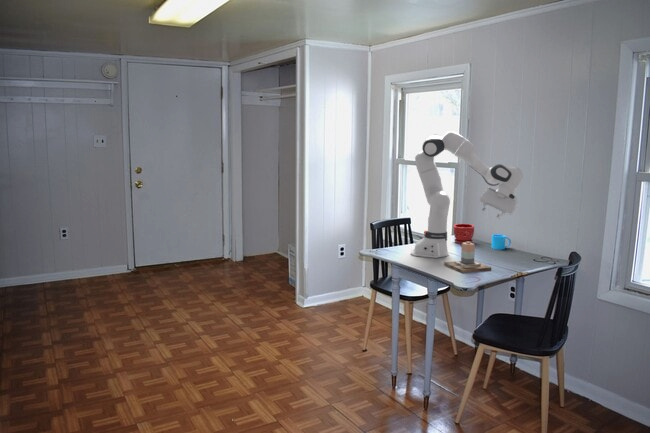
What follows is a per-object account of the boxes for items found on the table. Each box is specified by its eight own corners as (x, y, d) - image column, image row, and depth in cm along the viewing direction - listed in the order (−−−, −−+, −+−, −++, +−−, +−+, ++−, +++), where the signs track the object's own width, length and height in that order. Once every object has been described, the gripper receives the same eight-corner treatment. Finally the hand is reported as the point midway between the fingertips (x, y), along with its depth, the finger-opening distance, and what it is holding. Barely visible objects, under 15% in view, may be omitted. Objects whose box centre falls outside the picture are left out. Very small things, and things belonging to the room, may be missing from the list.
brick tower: (460, 264, 286) (461, 241, 284) (468, 263, 288) (469, 240, 286) (466, 266, 282) (467, 243, 280) (474, 265, 283) (475, 242, 281)
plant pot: (451, 240, 353) (452, 223, 351) (471, 240, 351) (472, 223, 349) (454, 244, 340) (455, 227, 338) (475, 245, 339) (475, 227, 337)
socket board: (444, 264, 291) (444, 260, 290) (471, 262, 296) (471, 257, 296) (462, 273, 274) (462, 268, 273) (491, 269, 280) (491, 265, 279)
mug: (493, 249, 326) (494, 237, 325) (489, 246, 334) (490, 234, 333) (512, 249, 326) (513, 236, 325) (508, 246, 334) (509, 234, 333)
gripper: (486, 184, 294) (473, 204, 293) (519, 198, 282) (505, 219, 281) (488, 188, 299) (475, 208, 298) (520, 203, 288) (507, 223, 287)
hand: (490, 214), depth 290 cm, fingers open, 8 cm apart
